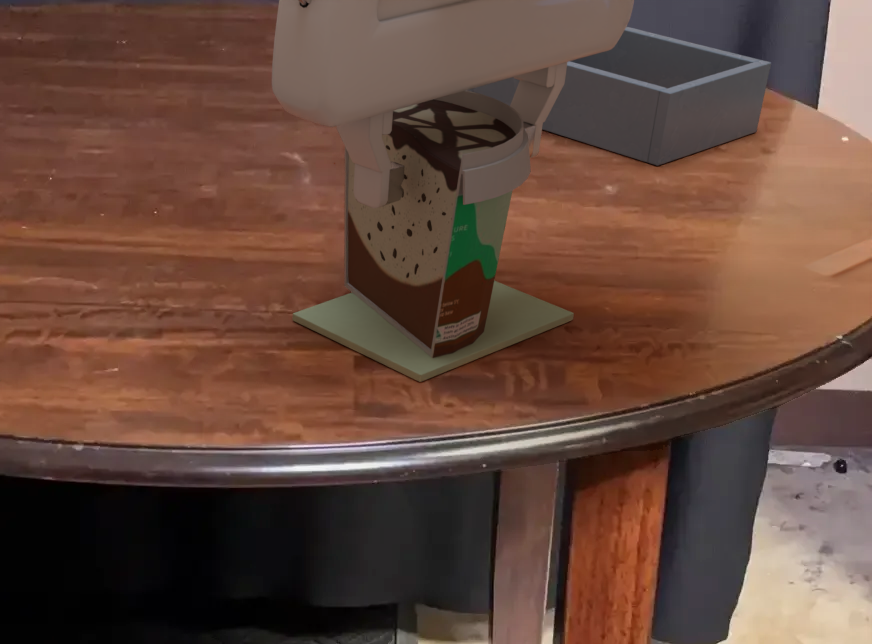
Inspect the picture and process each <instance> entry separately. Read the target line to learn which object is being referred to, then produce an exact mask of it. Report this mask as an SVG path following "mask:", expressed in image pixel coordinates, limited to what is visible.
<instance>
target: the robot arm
mask: <svg viewBox="0 0 872 644" xmlns="http://www.w3.org/2000/svg"><path fill="white" fill-rule="evenodd" d="M634 3H635V0H278V6H277V13H276V14H277V15H276V21H275V22H276V23H275V29H274V30H275V31H274V39H273V51H272V64H271V90H272V93H273V95H274V97H275V98H276V100H277V102H278V103H279V104H280V106H281V107H282V109H283V110H284V112H286V113H287V114H290V115H292V116H294V117H297V118H300V119H302V120H304V121H307V122H311V123H314V124H317V125H319V126H323V127H328V128H336V131H337V133H338V135H339V137H340V140H341V141H342V143H343V145H344V148H345V147H346V149H347V151H348V154H349V156H350V158H351V160H352V162H353V163H355V170H354V196H355V199H356V200H357V201H358V202H359V203H361V204H364V205H366V206H369V207H371V208H379V207H382V206H385V205H387V204H390V203H393V202H396V201H399V200H400V199H401V197H402V195H403V188H402V186H401V184H402V182H403V180H404V168H405V166H404V165H402V164H399V163H396V162H390V159H389V157H388V154H387V151H386V148H385V145H384V142H383V139H382V135H387V134H390V132H391V131H392V119H393V111H394V110H397V109H401V108H405V107H408V106H412V105H415V104H419V103H422V102H426V101H430V100H433V99H437V98H440V97H444V96H447V95H451V94H455V93H458V92H462V91H465V90H469V89H472V88H476V87H480V86H483V85H487V84H490V83H494V82H497V81H501V80H505V79H508V78H512V77H514V78H515V79H518V80H520V81H519V84H518V86H517V89H516V92H515V94H514V97H513V100H512V102H511V105H510V107H512V108H514V109H515V110H516V111H517V112H518V113H519V114H520V115H521V117H522V119H523V128H524V129H525V130H526V132H527V134H528V142H529V154H530V159H532V158H536V157H537V156H538V154H539V153H540V147H541V140H542V133H543V130H542V125H543V122H545V120H546V118H547V116H548V114H549V113H550V111H551V109H552V107H553V105H554V103H555V101H556V99H557V97H558V95H559V93H560V91H561V89H562V88H563V86H564V84H565V76H566V69H567V62H569V61H572V60H576V59H580V58H583V57H587V56H590V55H594V54H598V53H601V52H605V51H608V50H611V49H612V48H614V46H615V45H616V44H617V42H618V40H619V39H620V37H621V35H622V34H623V32H624V30H625V28H626V27H628V25H629V22H630V20H631V17H632V13H633V9H634Z"/></svg>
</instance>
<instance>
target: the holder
mask: <svg viewBox="0 0 872 644" xmlns="http://www.w3.org/2000/svg"><path fill="white" fill-rule="evenodd" d="M771 65H772V62H771V61H767V60H762V59H759V58H754V57H750V56H748V55H747V56H746V55H742V54H738V53H734V52H731V51H726V50H723V49H719V48H714V47H711V46H706V45H703V44H698V43H694V42H690V41H685V40H682V39H678V38H674V37H670V36H666V35H662V34H659V33H654V32H649V31H647V30H641V29H638V28H634V27H630V26H626V28H625V30H624V32H623V34H622V35H621V37H620V39H619V40H618V42H617V44H616V45H615V46H614V48H612V49H611V50H608V51H605V52H601V53H598V54H594V55H590V56H587V57H583V58H580V59H576V60H572V61H569V62H567V69H566V76H565V84H564V86H563V88H562V89H561V91H560V93H559V95H558V97H557V99H556V101H555V103H554V105H553V107H552V109H551V111H550V113H549V114H548V116H547V118H546V120H545V122H543V125H542V131H546V132H549V133H552V134H555V135H558V136H562V137H565V138H568V139H570V140H575V141H578V142H581V143H583V144H586V145H589V146H594V147H596V148H600V149H603V150H606V151H609V152H613V153H615V154H619V155H622V156H624V157H625V156H626V157H629V158H631V159H635V160H638V161H641V162H644V163H648V164H650V165H654V166H657V167H658V166H662V165H664V164H667V163H670V162H673V161H675V160H679V159H681V158H685V157H688V156H690V155H694V154H697V153H699V152H703V151H706V150H708V149H711V148H714V147H716V146H720V145H723V144H726V143H728V142H731V141H734V140H737V139H740V138H743V137H746V136H749V135H751V134H755V133H757V132H758V127H759V122H760V118H761V114H762V109H763V105H764V100H765V94H766V89H767V85H768V80H769V75H770V70H771ZM519 81H520V80H518V79H515V78H514V77H512V78H508V79H505V80H501V81H497V82H494V83H490V84H487V85H483V86H480V87H476V88H472V89H469V90H467V91H471V92H475V93H479V94H483V95H486V96H489V97H492V98H494V99H497V100H499V101H501V102H503V103H505V104H507V105H509V106H510V105H511V102H512V100H513V97H514V94H515V92H516V89H517V86H518V84H519Z"/></svg>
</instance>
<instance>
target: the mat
mask: <svg viewBox="0 0 872 644" xmlns="http://www.w3.org/2000/svg"><path fill="white" fill-rule="evenodd" d="M574 315H575V313H574V312H572V311H570V310H567V309H565V308H563V307H560V306H558V305H556V304H554V303H550V302H548V301H546V300H543V299H541V298H538V297H535V296H533V295H531V294H529V293H526V292H524V291H521V290H519V289H516V288H513V287H512V286H509V285H506V284H504V283H502V282H499V281H496V280H494V285H493V290H492V295H491V300H490V304H489V309H488V314H487V319H486V324H485V329H484V332H483V333H482V335H481V336H480V337H479V338H478V339H477V340H476V341H475V342H474V343H473V344H471V345H469V346H467V347H465V348H463V349H460V350H458V351H456V352H454V353H451V354H447V355H443V356H439V357H435V358H432V357H431V356H429V355H428V354H427V353H426V352H425V351H423V350H422V349H421V348H420V347H418V346H417V345H416V344H415V343H413V342H412V341H411V340H410V339H409V338H407V337H406V336H405V335H404V334H402V333H401V332H400V331H399V330H398V329H396V328H395V327H394V326H393V325H391V324H390V323H389V322H388V321H387V320H385V319H384V318H383V317H382V316H380V315H379V314H378V313H377V312H375V311H374V310H373V309H372V308H371V307H369V306H368V305H367V304H366V303H364V302H363V301H362V300H361V299H360V298H358V297H357V296H356V295H355V294H353V293H352V292H350V293H347V294H344V295H340V296H338V297H335V298H333V299H330V300H329V299H328V300H326V301H323V302H321V303H319V304H318V303H317V304H315V305H312V306H310V307H306V308H304V309H301V310H299V311H296V312H293V313H292V321H293V322H295V323H297V324H299V325H301V326H303V327H305V328H306V329H307V328H308V329H309V330H311V331H314V332H316V333H318V334H320V335H322V336H323V337H326V338H327V339H330V340H333V341H334V342H336V343H338V344H340V345H343V346H345V347H347V348H349V349H350V350H353V351H354V352H357V353H359V354H361V355H363V356H365V357H367V358H370V359H371V360H374V361H375V362H378V363H380V364H381V365H384V366H386V367H388V368H390V369H392V370H394V371H396V372H397V373H400V374H402V375H404V376H405V377H406V376H407V377H408V378H411V379H412V380H415V381H417V382H418V383H421V382H424V381H427V380H429V379H432V378H434V377H437V376H439V375H441V374H443V373H446V372H448V371H452V370H453V369H456V368H459V367H461V366H464V365H466V364H468V363H471V362H473V361H476V360H478V359H480V358H481V359H482V358H483V357H486V356H487V355H490V354H493V353H495V352H498V351H500V350H503V349H505V348H507V347H510V346H513V345H516V344H517V343H520V342H522V341H524V340H527V339H530V338H532V337H535V336H537V335H539V334H543V333H544V332H546V331H547V332H548V331H550V330H552V329H554V328H558V327H559V326H561V325H564V324H566V323H569V322H571V321H573V320H574Z"/></svg>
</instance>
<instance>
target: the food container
mask: <svg viewBox="0 0 872 644" xmlns="http://www.w3.org/2000/svg"><path fill="white" fill-rule="evenodd" d="M382 139H383V142H384V145H385V148H386V151H387V154H388V157H389V159H390V162H396V163H399V164H402V165H404V166H405V168H404V180H403V182H402V184H401V186H402V188H403V195H402V197H401V199H400V200H399V201H396V202H393V203H390V204H387V205H385V206H382V207H379V208H371V207H369V206H366V205H364V204H361V203H359V202H358V201H357V200H356V199H355V196H354V170H355V163H353V162H352V160H351V158H350V156H349V154H348V151H347V149H346V147H345V146H344V203H343V204H344V206H343V207H344V209H343V210H344V211H343V213H344V214H343V215H344V218H343V219H344V220H343V221H344V227H343V229H344V233H343V235H344V239H343V241H344V243H343V244H344V245H343V247H344V248H343V255H344V256H343V258H344V259H343V262H344V263H343V274H344V275H343V286H344V287H345V288H346V289H347V290H348V291H350V293H353V294H355V295H356V296H357V297H358V298H360V299H361V300H362V301H363V302H364V303H366V304H367V305H368V306H369V307H371V308H372V309H373V310H374V311H375V312H377V313H378V314H379V315H380V316H382V317H383V318H384V319H385V320H387V321H388V322H389V323H390V324H391V325H393V326H394V327H395V328H396V329H398V330H399V331H400V332H401V333H402V334H404V335H405V336H406V337H407V338H409V339H410V340H411V341H412V342H413V343H415V344H416V345H417V346H418V347H420V348H421V349H422V350H423V351H425V352H426V353H427V354H428V355H429V356H431V357H432V358H435V357H439V356H443V355H447V354H451V353H454V352H456V351H458V350H460V349H463V348H465V347H467V346H469V345H471V344H473V343H474V342H475V341H476V340H477V339H478V338H479V337H480V336H481V335H482V333H483V332H484V329H485V324H486V319H487V314H488V309H489V304H490V300H491V295H492V290H493V285H494V281H496V280H495V279H496V275H497V269H498V264H499V260H500V254H501V250H502V244H503V241H504V240H503V239H504V234H505V230H506V226H507V225H506V224H507V220H508V215H509V211H510V205H511V200H512V196H513V191H514V190H515V189H517V188H519V187H521V186H522V185H523V184H524V183H525V182H526V181H527V180H528V179H529V176H530V175H531V172H532V171H531V169H532V167H531V158H530V154H529V142H528V134H527V132H526V130H525V129H524V128H523V119H522V117H521V115H520V114H519V113H518V112H517V111H516V110H515V109H514V108H512V107H510V106H509V105H507V104H505V103H503V102H501V101H499V100H497V99H494V98H492V97H489V96H486V95H483V94H479V93H475V92H471V91H467V90H465V91H462V92H458V93H455V94H451V95H447V96H444V97H440V98H437V99H433V100H430V101H426V102H422V103H419V104H415V105H412V106H408V107H405V108H401V109H397V110H394V111H393V119H392V131H391V132H390V134H387V135H382Z"/></svg>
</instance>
